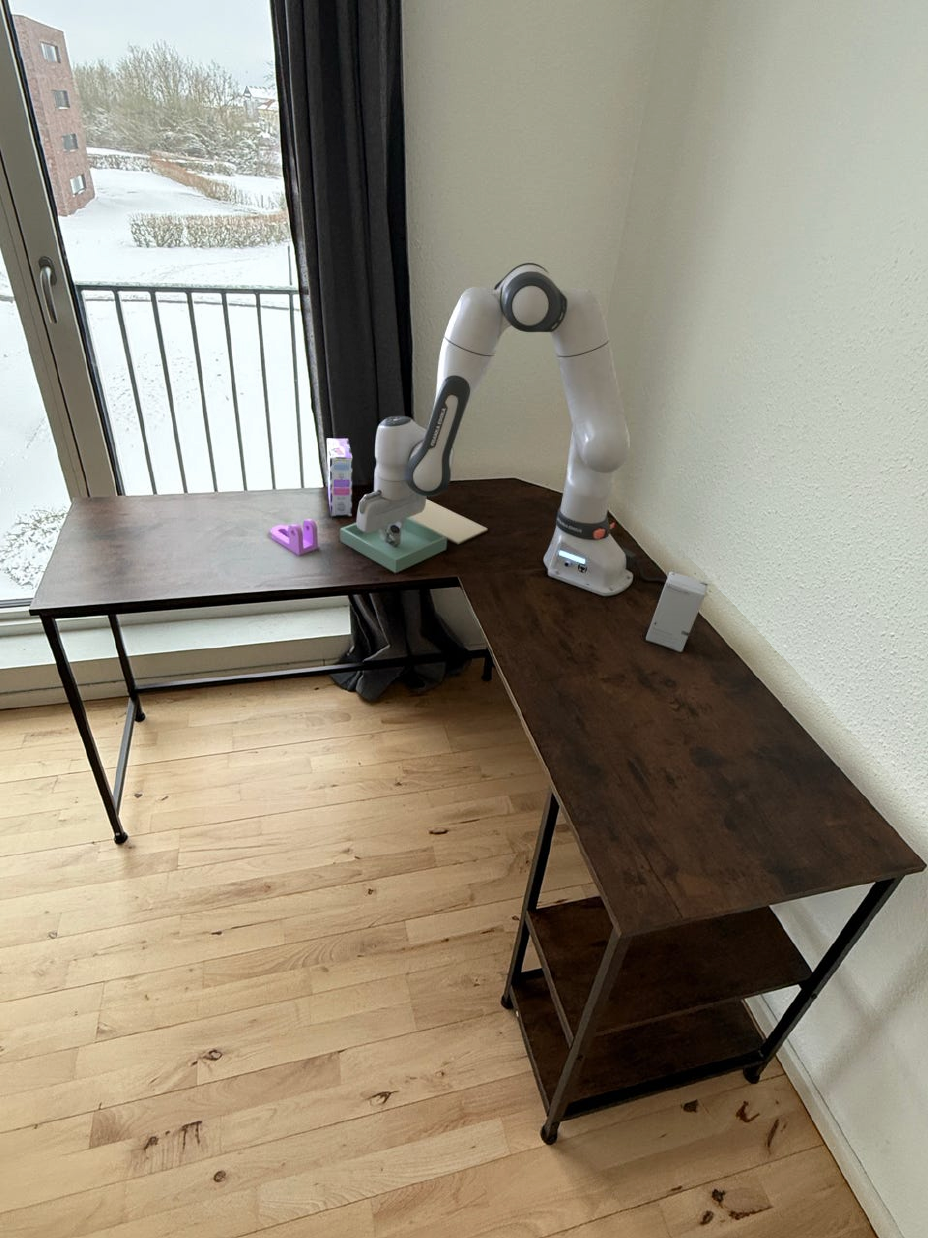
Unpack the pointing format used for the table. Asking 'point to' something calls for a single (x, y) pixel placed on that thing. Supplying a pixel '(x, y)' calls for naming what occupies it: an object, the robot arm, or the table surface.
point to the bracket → (297, 536)
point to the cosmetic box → (676, 611)
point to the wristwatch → (394, 534)
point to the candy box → (339, 477)
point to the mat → (448, 523)
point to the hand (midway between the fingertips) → (390, 537)
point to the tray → (410, 551)
